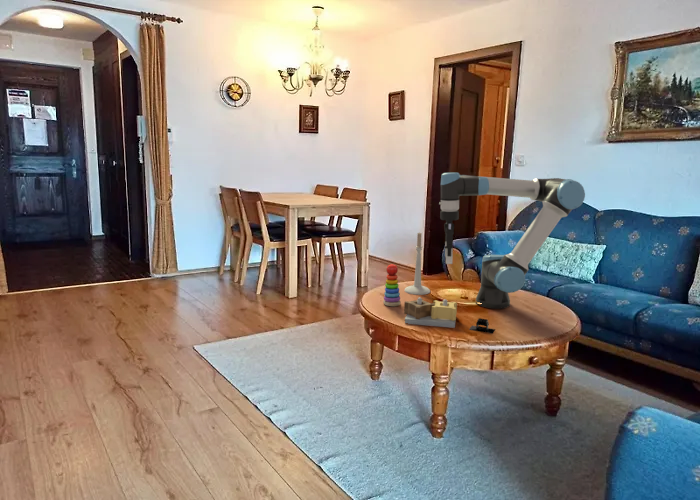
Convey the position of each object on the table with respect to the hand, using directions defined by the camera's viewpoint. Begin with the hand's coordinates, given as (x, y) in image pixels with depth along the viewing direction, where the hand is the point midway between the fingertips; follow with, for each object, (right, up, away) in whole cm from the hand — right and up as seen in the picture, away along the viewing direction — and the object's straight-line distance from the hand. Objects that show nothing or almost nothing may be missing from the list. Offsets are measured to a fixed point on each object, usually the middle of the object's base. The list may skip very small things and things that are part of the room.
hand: (448, 260), depth 212 cm
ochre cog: (-3, -23, -5) cm, 24 cm away
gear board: (-8, -25, -3) cm, 26 cm away
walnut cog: (-13, -23, -2) cm, 26 cm away
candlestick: (-8, -17, +39) cm, 43 cm away
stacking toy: (-23, -21, +17) cm, 35 cm away
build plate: (+11, -28, -13) cm, 33 cm away
